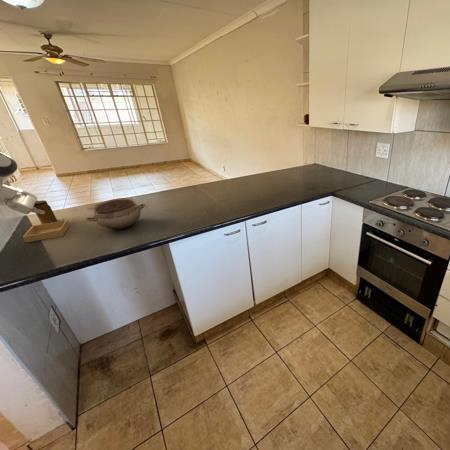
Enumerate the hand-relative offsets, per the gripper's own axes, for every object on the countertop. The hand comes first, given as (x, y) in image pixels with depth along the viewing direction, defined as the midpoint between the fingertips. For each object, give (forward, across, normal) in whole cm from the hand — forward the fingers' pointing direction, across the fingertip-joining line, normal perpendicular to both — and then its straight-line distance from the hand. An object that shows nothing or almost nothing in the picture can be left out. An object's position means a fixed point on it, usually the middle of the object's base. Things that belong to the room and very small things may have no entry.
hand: (45, 209), depth 126 cm
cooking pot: (+26, -28, -15) cm, 41 cm away
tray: (+5, -15, +5) cm, 16 cm away
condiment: (+6, 0, +5) cm, 8 cm away
